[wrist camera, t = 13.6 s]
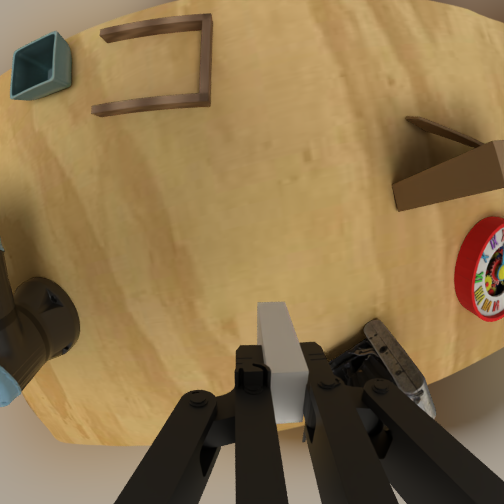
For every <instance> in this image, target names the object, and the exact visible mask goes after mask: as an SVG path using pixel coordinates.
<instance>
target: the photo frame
mask: <svg viewBox="0 0 504 504" xmlns="http://www.w3.org/2000/svg"><path fill="white" fill-rule="evenodd" d="M405 119H407V120H408V121H410V122H412V123H413V124H415V125H416V126H418V127H420V128H421V129H423V130H424V131H427V132H430V133H433V134H436V135H439V136H442V137H445V138H448V139H451V140H454V141H457V142H460V143H462V144H465V145H468V146H470V147H473V148H475V149H473V150H470V151H468V152H466V153H463V154H461V155H459V156H457V157H454V158H452V159H450V160H447V161H445V162H443V163H441V164H438V165H436V166H434V167H431V168H429V169H427V170H425V171H422V172H420V173H418V174H416V175H413V176H411V177H409V178H406V179H404V180H402V181H400V182H397V183H395V184H393V185H392V188H393V192H394V196H395V199H396V203H397V208H398V212H400V211H404V210H409V209H413V208H417V207H422V206H426V205H430V204H435V203H439V202H443V201H448V200H452V199H457V198H461V197H465V196H470V195H474V194H479V193H483V192H487V191H492V190H496V189H501V188H504V140H496V141H491V142H489V143H486V144H483V143H481V142H479V141H477V140H475V139H473V138H470V137H468V136H466V135H464V134H462V133H459V132H457V131H455V130H452V129H450V128H447V127H445V126H442V125H440V124H437V123H435V122H432V121H430V120H427V119H424V118H422V117H409V116H406V118H405Z"/></svg>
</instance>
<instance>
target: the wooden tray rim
mask: <svg viewBox="0 0 504 504" xmlns="http://www.w3.org/2000/svg"><path fill="white" fill-rule="evenodd" d="M197 30H202V38H201V60H200V90H199V93H195V94H180V95H168V96H157V97H148V98H139V99H132V100H125V101H118V102H111V103H105V104H99V105H94V106H92V111H91V114H94V115H96V116H99V117H105V116H112V115H119V114H126V113H134V112H143V111H152V110H163V109H175V108H190V107H210V106H211V62H212V35H213V21H212V15H211V13H210V14H194V15H183V16H173V17H165V18H158V19H151V20H144V21H139V22H133V23H128V24H123V25H118V26H113V27H109V28H104V29H101V30H100V37H102V38H103V39H104V40H105V41H106V42H107V43H111V42H116V41H121V40H126V39H131V38H137V37H144V36H150V35H157V34H165V33H174V32H184V31H197Z"/></svg>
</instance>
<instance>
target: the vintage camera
mask: <svg viewBox="0 0 504 504" xmlns="http://www.w3.org/2000/svg"><path fill="white" fill-rule="evenodd" d="M364 333H365V335H366V337H367V339H365V340H364V341H362V342H360V343H359V344H357V345H356V346H354V347H353V348H352V349H350V350H348V351H346V352H344V353H343V354H341V355H340V356H338V357H336V358H335V359H333V360H332V361H330V362H329V365H330V367H331V370H332V372H333V374H334V375H335V376H337V377H339V378H341V379H342V381H343V382H344V384H345V385H347V386H351V387H362V388H364V385H365V383H366V382H367V381H369V380H371V379H375V378H382V379H386V380H389V381H390V382H392V383H393V384H395V385H396V386H397V387H398V388H399V389H400V390H401V391H402V392H404V393H405V394H406V395H407V396H408V397H409V398H410V399H411V400H412V401H414V402H415V403H416V404H417V405H418V406H419V407H420V408H421V409H423V410H424V411H425V412H426V413H427V414H428V415H429V416H430V417H432V418H433V419H434V418H435V416H436V409H435V407H434V403H433V401H432V398H431V395H430V392H429V389H428V387H427V383H426V380H425V377H424V376H423V375H422V373H421V372H420V370H419V369H418V368H417V366H416V365H415V364H414V362H413V361H412V360H411V358H410V357H409V356H408V354H407V353H406V352H405V350H404V349H403V348H402V347H401V345H400V344H399V343H398V342H397V340H396V339H395V338H394V336H393V335H392V334H391V333H390V331H389V330H388V329H387V328H386V326H385V325H384V324H383V323H382V322H381V321H380V320H372V321H370V322H368V323H367V324H366V325H365V327H364Z"/></svg>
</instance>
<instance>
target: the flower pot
mask: <svg viewBox="0 0 504 504" xmlns="http://www.w3.org/2000/svg"><path fill="white" fill-rule="evenodd" d="M71 67H72V57H71V51H70V47H69V45H68V44H67V42H66V41H65V40H64V39H63V38H62V36H61V35H60V34H59V33H58V32H57V31H54V32H51V33H49V34H47V35H45V36H43V37H41V38H39V39H37V40H35V41H33V42H31V43H29V44H27V45H25V46H23V47H21V48H19V49H18V50H16V51H15V52H14V55H13V63H12V74H11V87H10V99H14V100H36V99H39V98H42V97H45V96H47V95H50V94H52V93H55V92H57V91H60V90H62V89H65V88H68V87H70V86H71Z"/></svg>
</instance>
